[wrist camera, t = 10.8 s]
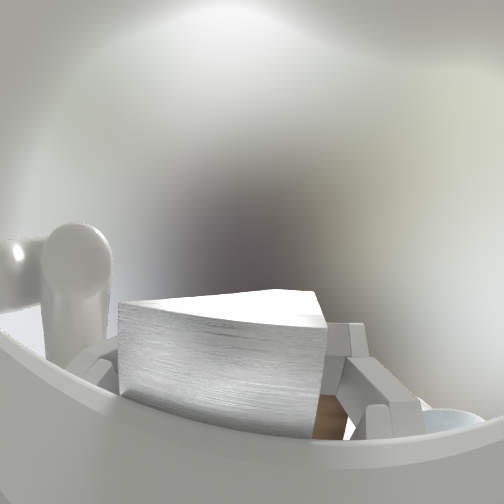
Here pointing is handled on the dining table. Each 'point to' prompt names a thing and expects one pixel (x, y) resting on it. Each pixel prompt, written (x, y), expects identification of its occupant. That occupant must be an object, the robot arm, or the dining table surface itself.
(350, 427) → the dining table surface
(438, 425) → the serving bowl
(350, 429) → the dining table surface
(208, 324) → the white bar
